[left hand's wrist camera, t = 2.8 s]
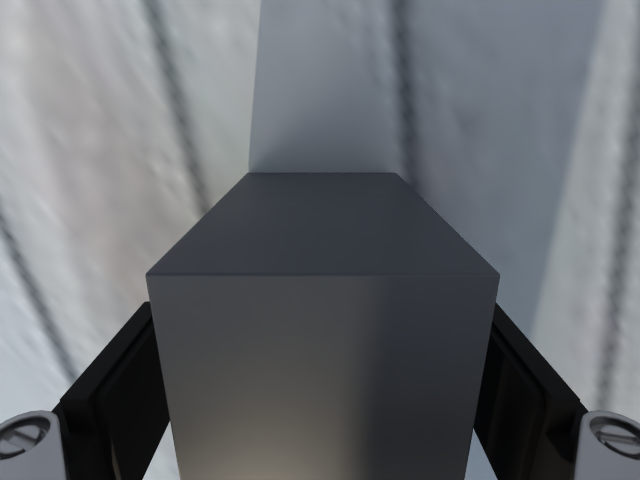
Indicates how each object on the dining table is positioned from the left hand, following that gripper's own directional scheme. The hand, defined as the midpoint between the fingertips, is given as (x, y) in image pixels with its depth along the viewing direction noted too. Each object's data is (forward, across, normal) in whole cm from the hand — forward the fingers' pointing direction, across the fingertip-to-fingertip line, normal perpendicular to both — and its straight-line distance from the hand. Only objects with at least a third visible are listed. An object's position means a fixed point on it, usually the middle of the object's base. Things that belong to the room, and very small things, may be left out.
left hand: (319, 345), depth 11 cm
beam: (+4, 0, -36) cm, 37 cm away
